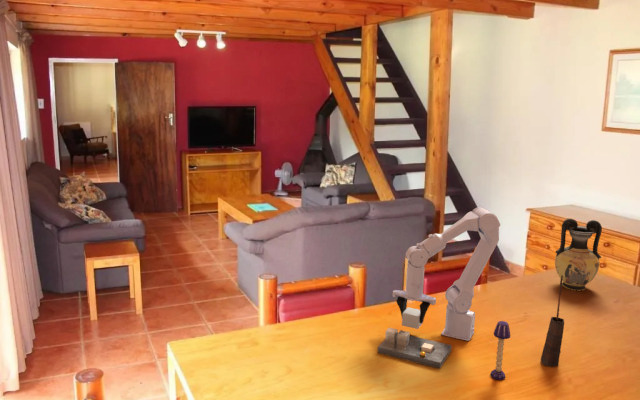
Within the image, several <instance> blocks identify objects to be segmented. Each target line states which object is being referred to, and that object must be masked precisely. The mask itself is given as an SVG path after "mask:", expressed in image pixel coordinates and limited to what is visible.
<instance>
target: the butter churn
mask: <svg viewBox="0 0 640 400" xmlns="http://www.w3.org/2000/svg"><path fill="white" fill-rule="evenodd" d="M562 283H563V275H562V276H561V278H560V281H559V292H558V302H557V308H556V309H557V311H556V316H551V318H550V320H549V321H550V322H549V325H548V330H547V332H546V337H545V341H544V346H543V349H542V351H541V352H542V353H541V356H540V363H541V364H542V365H545V366H546V367H550V368H554V367H558V366H559V362H560V356H561V348H562V342H563V336H564V330H565V328H564V327H565V319H564V318H562V317H559V316H560V304H561V296H562V287H563V286H562Z"/></svg>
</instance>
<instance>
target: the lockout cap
mask: <svg viewBox="0 0 640 400" xmlns="http://www.w3.org/2000/svg"><path fill="white" fill-rule="evenodd" d="M422 325H423V323H420V308H419V309H418V308H413V307H409V306H408V307H406V310H405V311H404V312H403V313H402V315H401V326H402V327H407V328H412V329H417V330H419V329H420V327H421V326H422Z"/></svg>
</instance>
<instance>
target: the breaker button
mask: <svg viewBox="0 0 640 400" xmlns="http://www.w3.org/2000/svg"><path fill="white" fill-rule="evenodd" d="M433 347H434V345H431V344H427V343H424V344H423V345H422V347H421V351H425V352H429V353H432V352H433Z"/></svg>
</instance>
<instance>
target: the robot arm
mask: <svg viewBox="0 0 640 400" xmlns="http://www.w3.org/2000/svg"><path fill="white" fill-rule="evenodd" d="M500 227H501V223H500V221H499V219H498V217H497V216H496V214H494V213H492V212H490V211H489V210H487V208H484V207H483V206H482V207H481V206H480V207H479V206H478V207H475V208H474V209H472V211H471V210H470V211H469V212H467V213H466V214H465V215H464V216H463V217H462V218H460V219H459V220H458V221H456V222H455V223H453V224H452V225H450V227H448V228H447V229H445V230H444V231H443V232H442V233H436V232H435V233H433V234H432V233H430V234H428V237H427V238H426V239H424V240H423V241H421V242H417V243H416V245H412V246H409V248H407V250H406V252H405V258H406V259H407V265H406V267H407V268H406V277H405V278H406V279H405V280H406V281H405V290H398V289H394V290H393V291H392V297H393V298H397V299H396V304H397V306H398V307H399V311H400V315H401V316H402V313H403V312H404V311H405V310H406V309H407V308H408V307H407V305H408V301H410V302H411V301H412V302H413V301H416V302H419V303H420V302H421V303H420V304H419V310H420V323H422V324H423V323H424V320H425V316H426V313H427V311H428V310H429V307H430V306H431V305H432V306H435V305H436V303H437V302H436V301H437V298H436V297H434V296H430V295H429V294H428V295H427V294H425V293H424V282H425V281H424V280H425V265H427V263H428V260H429V259H430V258H432V257H434V256H435V255H436V254H438V253H439V252H441V251H442V250H444V249H445V248H446V246H447V243H449V242H450V241H452V240H454V239H455V238H457V237H459V236H460V235H462V234H464V233H465V232H467V231H470V232H478V234H479V238H480V239H479V241H478V243H477V245H476V247H475V249H474V251H473V253H472V254H471V256H470V257H469V260H468V262H467V264H466V265H465V267H464V269H463V270H462V273H461V275H460V277H459V278H458V279H456V280H454V282H453V284H452V285H451V286H450V287H448V288H447V289H446V291H445V293H444V295H445V299H446V301H447V305H446V313H445V325H444V328H443V330H442V332H441V333H440V334H441V336H446V337H449V338H454V339H458V340H463V341H468V342H469V341H471V338H473V335H474V333H475V321H476V313H475V312H474V311H472V310H470V309H471V307H472V304H473V302H472V301H473V298H474V296H475V293H474V292H475V291H474V287H475V285H476V283H478V280H479V278H480V277H481V274H482V273H483V271H484V269H485V267H486V266H487V263H488V261H489V260H490V257H491V256H492V254H493V252H494V251H495V248H496V247H497V245H498V243H499V239H500Z"/></svg>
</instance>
